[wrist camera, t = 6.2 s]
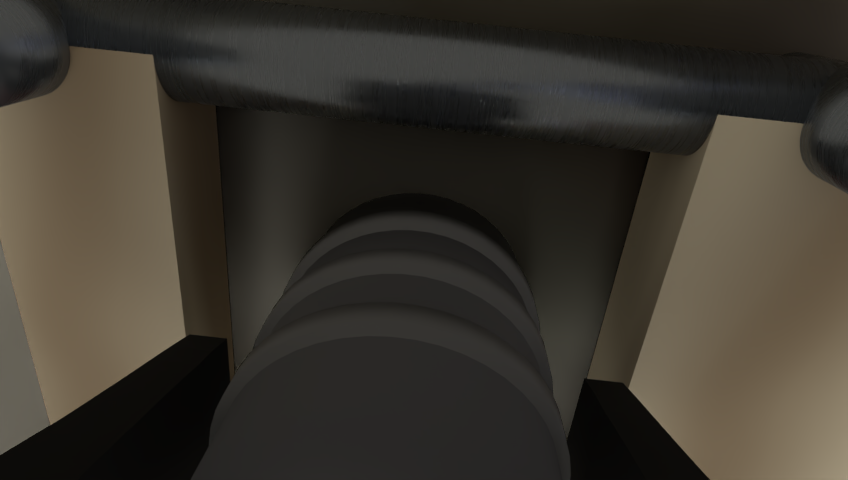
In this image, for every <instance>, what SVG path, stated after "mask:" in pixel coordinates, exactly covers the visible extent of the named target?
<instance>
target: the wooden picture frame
mask: <svg viewBox="0 0 848 480" xmlns="http://www.w3.org/2000/svg"><path fill="white" fill-rule="evenodd" d="M69 47H70V66H69V70H68V73H67V76H66V78H65V80H64V81H63V83H62V84H61V85H60V86H59V87H58V88H57V89H56V90H55V91H53V92H52V93H49V94H47V95H44V96H41V97H37V98H33V99H30V100H26V101H22V102H19V103H15V104H11V105H8V106H4V107H0V240H1V244H2V247H3V251H4V255H5V259H6V262H7V266H8V270H9V273H10V277H11V281H12V285H13V288H14V292H15V296H16V299H17V303H18V307H19V311H20V314H21V318H22V322H23V325H24V329H25V333H26V336H27V340H28V344H29V348H30V351H31V355H32V359H33V362H34V366H35V370H36V374H37V377H38V381H39V385H40V388H41V392H42V396H43V400H44V403H45V407H46V411H47V414H48V418H49V422H50V425H51V424H53V423H55V422H56V421H58V420H60V419H61V418H63V417H64V416H66V415H68V414H69V413H71V412H72V411H74V410H75V409H77V408H78V407H80V406H81V405H83V404H84V403H86V402H87V401H89V400H91V399H92V398H94V397H95V396H97V395H98V394H100V393H101V392H103V391H104V390H106V389H107V388H109V387H110V386H112V385H113V384H115V383H117V382H118V381H120V380H121V379H123V378H124V377H126V376H127V375H129V374H130V373H132V372H133V371H134V370H136V369H137V368H139V367H140V366H142V365H143V364H145V363H146V362H148V361H149V360H151V359H152V358H154V357H155V356H157V355H158V354H160V353H161V352H163V351H164V350H166V349H167V348H169V347H170V346H172V345H173V344H175V343H177V342H178V341H180V340H181V339H183V338H185V337H186V336H188V335H189V334H191V335H200V336H209V337H218V338H227V344H228V357H229V370H230V382H231V380H232V378H233V377H234V375H235V371H234V357H233V343H232V329H231V315H230V301H229V287H228V273H227V259H226V245H225V231H224V217H223V203H222V189H221V175H220V161H219V148H218V134H217V120H216V106H215V105H206V104H197V103H187V102H178V101H175V100H173V99H171V98H170V97H169V96H168V95H167V94H166V92H165V91H164V89H163V88H162V86H161V84H160V81H159V79H158V76H157V72H156V69H155V64H154V58H153V55H150V54H140V53H131V52H121V51H112V50H102V49H93V48H83V47H74V46H69ZM803 125H804V124H802V123H793V122H783V121H774V120H764V119H755V118H745V117H736V116H726V115H718V116H717V118H716V121H715V124H714V126H713V128H712V130H711V132H710V134H709V136H708V138H707V139H706V141H705V142H704V144H703V145H702V146H701V147H700V148H699V149H698V150H697V151H696V152H695V153H693V154H691V155H687V156H684V155H675V154H665V153H656V152H650V156H649V159H648V163H647V167H646V170H645V174H644V177H643V181H642V184H641V188H640V191H639V195H638V199H637V202H636V206H635V209H634V213H633V216H632V220H631V223H630V227H629V230H628V234H627V238H626V241H625V245H624V248H623V252H622V255H621V259H620V262H619V266H618V270H617V273H616V277H615V280H614V284H613V287H612V291H611V294H610V298H609V302H608V305H607V309H606V312H605V316H604V319H603V323H602V326H601V330H600V334H599V337H598V341H597V344H596V348H595V351H594V355H593V358H592V362H591V366H590V369H589V373H588V376H587V379H594V380H603V381H612V382H621V383H624V384H625V386H626V387H627V388H628V389H629V390H630V391H631V392H632V393H633V394H634V395H635V396H636V397H637V399H638V400H639V401H640V402H641V403H642V404H643V405H644V406H645V408H646V409H647V410H648V411H649V412H650V413H651V414H652V416H653V417H654V418H655V419H656V420H657V421H658V422H659V423H660V425H661V426H662V427H663V428H664V429H665V430H666V431H667V433H668V434H669V435H670V436H671V437H672V438H673V439H674V440H675V442H676V443H677V444H678V445H679V446H680V447H681V448H682V449H683V451H684V452H685V453H686V454H687V455H688V456H689V457H690V458H691V459H692V460H693V462H694V463H695V464H696V465H697V466H698V467H699V468H700V469H701V470H702V471H703V473H704V474H705V475H706V476H707V477H708V478H709V479H710V480H848V194H847V193H845V192H843V191H842V190H840V189H838V188H836V187H834V186H832V185H831V184H829V183H827V182H825V181H823V180H821V179H820V178H818V177H816V176H815V175H814V174H812V173H811V172H810V171H809V170H808V168H807V167H806V165H805V164H804V162H803V160H802V157H801V153H800V136H801V131H802V128H803Z"/></svg>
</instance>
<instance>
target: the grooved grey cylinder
mask: <svg viewBox="0 0 848 480" xmlns="http://www.w3.org/2000/svg"><path fill="white" fill-rule="evenodd" d="M570 477H571V468H570V455H569V450H568V446H567V442H566V437H565V433H564V428H563V424H562V420H561V416H560V412H559V408H558V406H557V404H556V401H555V399H554V397H553V384H552V376H551V372H550V367H549V363H548V359H547V354H546V350H545V346H544V342H543V340H542V337H541V335H540V325H539V319H538V315H537V311H536V306H535V302H534V298H533V294H532V291H531V289H530V286H529V284H528V281H527V279H526V277H525V276H524V274H523V272H522V271H521V269H520V267H519V266H518V263H517V260H516V258H515V255H514V253H513V251H512V249H511V247H510V246H509V244H508V242H507V241H506V239H505V238H504V237H503V236H502V234H501V233H500V232H499V231H498V230H497V229H496V228H495V227H494V226H493V225H492V224H491V223H490V222H489V221H488V220H487V219H485V218H484V217H483V216H481V215H480V214H478V213H477V212H476V211H474V210H472V209H470V208H468V207H466V206H465V205H463V204H460V203H458V202H455V201H452V200H450V199H446V198H442V197H439V196H435V195H427V194H405V193H404V194H396V195H389V196H385V197H381V198H377V199H374V200H371V201H369V202H366V203H364V204H361V205H359V206H358V207H356V208H354V209H352V210H351V211H349V212H348V213H346V214H345V215H344V216H342V217H341V218H340V219H338V220H337V221H336V222H335V224H334V225H333V226H332V227H331V228H330V229H329V230H328V231H327V233H326V234H325V235H324V237H323V238H321V239H320V240H319V241H318V242H317V243H316V244H315V245H314V246H313V247H312V248H311V249H310V250H309V251H308V252H307V253H306V255H305V256H304V257H303V259H302V260H301V261H300V263H299V264H298V266H297V268H296V269H295V271H294V273H293V275H292V276H291V278H290V280H289V282H288V284H287V286H286V288H285V290H284V293H283V295H282V297H281V298H280V299H279V301H278V302H277V303H276V305H275V306H274V308H273V309H272V311H271V313H270V314H269V316H268V318H267V320H266V321H265V323H264V325H263V327H262V329H261V331H260V333H259V334H258V336H257V338H256V341H255V344H254V347H253V350H252V351H251V352H250V353H249V355H248V356H247V357H246V359H245V360H244V361H243V363H242V364H241V365H240V367H239V368H238V370H237V371H236V373H235V375H234V377H233V378H232V380H231V382H230V384H229V385H228V387H227V389H226V390H225V392H224V394H223V396H222V398H221V400H220V402H219V404H218V406H217V408H216V410H215V413H214V417H213V420H212V423H211V427H210V437H209V447H208V449H207V450H206V452H205V454H204V456H203V458H202V460H201V461H200V463H199V465H198V467H197V469H196V471H195V472H194V474H193V476H192V478H191V480H570Z"/></svg>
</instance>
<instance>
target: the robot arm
mask: <svg viewBox="0 0 848 480" xmlns="http://www.w3.org/2000/svg"><path fill="white" fill-rule="evenodd" d="M229 384H230V370H229V357H228V344H227V338H218V337H209V336H200V335H191V334H189V335H188V336H186V337H185V338H183V339H181V340H180V341H178V342H177V343H175V344H173V345H172V346H170V347H169V348H167V349H166V350H164V351H163V352H161V353H160V354H158V355H157V356H155V357H154V358H152V359H151V360H149V361H148V362H146V363H145V364H143V365H142V366H140V367H139V368H137V369H136V370H134V371H133V372H132V373H130V374H129V375H127V376H126V377H124V378H123V379H121V380H120V381H118V382H117V383H115V384H113V385H112V386H110V387H109V388H107V389H106V390H104V391H103V392H101V393H100V394H98V395H97V396H95V397H94V398H92V399H91V400H89V401H87V402H86V403H84V404H83V405H81V406H80V407H78V408H77V409H75V410H74V411H72V412H71V413H69V414H68V415H66V416H64V417H63V418H61V419H60V420H58V421H56V422H55V423H53V424H51V425H50V426H48V427H46V428H45V429H43V430H41V431H40V432H38V433H36V434H35V435H33V436H32V437H30V438H28V439H27V440H25V441H23V442H22V443H20V444H18V445H17V446H15V447H13V448H12V449H10V450H8V451H7V452H5V453H3V454H2V455H0V480H191V478H192V476H193V474H194V472H195V471H196V469H197V467H198V465H199V463H200V461H201V460H202V458H203V456H204V454H205V452H206V450H207V449H208V447H209V437H210V427H211V423H212V420H213V417H214V413H215V410H216V408H217V406H218V404H219V402H220V400H221V398H222V396H223V394H224V392H225V390H226V389H227V387H228V385H229ZM567 446H568V450H569V455H570V468H571V477H570V480H710V479H709V478H708V477H707V476H706V475H705V474H704V473H703V471H702V470H701V469H700V468H699V467H698V466H697V465H696V464H695V463H694V462H693V460H692V459H691V458H690V457H689V456H688V455H687V454H686V453H685V452H684V451H683V449H682V448H681V447H680V446H679V445H678V444H677V443H676V442H675V440H674V439H673V438H672V437H671V436H670V435H669V434H668V433H667V431H666V430H665V429H664V428H663V427H662V426H661V425H660V423H659V422H658V421H657V420H656V419H655V418H654V417H653V416H652V414H651V413H650V412H649V411H648V410H647V409H646V408H645V406H644V405H643V404H642V403H641V402H640V401H639V400H638V399H637V397H636V396H635V395H634V394H633V393H632V392H631V391H630V390H629V389H628V388H627V387H626V386H625V384H624V383H621V382H612V381H603V380H594V379H585V378H584V382H583V385H582V389H581V393H580V396H579V400H578V403H577V407H576V411H575V414H574V418H573V421H572V425H571V428H570V432H569V436H568V439H567Z"/></svg>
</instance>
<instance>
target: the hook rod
mask: <svg viewBox="0 0 848 480" xmlns="http://www.w3.org/2000/svg"><path fill="white" fill-rule="evenodd" d="M69 46H74V47H83V48H93V49H102V50H112V51H121V52H131V53H140V54H150V55H153V58H154V64H155V69H156V72H157V76H158V79H159V81H160V84H161V86H162V88H163V89H164V91H165V92H166V94H167V95H168V96H169V97H170V98H171V99H173V100H175V101H178V102H187V103H197V104H206V105H215V106H225V107H234V108H244V109H253V110H262V111H272V112H281V113H290V114H300V115H309V116H319V117H328V118H337V119H347V120H356V121H365V122H375V123H384V124H394V125H403V126H412V127H422V128H431V129H440V130H450V131H459V132H469V133H478V134H487V135H497V136H506V137H515V138H525V139H534V140H543V141H553V142H562V143H572V144H581V145H590V146H600V147H609V148H618V149H628V150H637V151H647V152H656V153H665V154H675V155H684V156H687V155H691V154H693V153H695V152H696V151H697V150H698V149H699V148H700V147H701V146H702V145H703V144H704V142H705V141H706V139H707V138H708V136H709V134H710V132H711V130H712V128H713V126H714V124H715V121H716V118H717V116H718V115H726V116H736V117H745V118H755V119H764V120H774V121H783V122H793V123H802V124H804V125H803V128H802V131H801V136H800V153H801V157H802V160H803V162H804V164H805V165H806V167H807V168H808V170H809V171H810V172H811V173H812V174H814V175H815V176H816V177H818V178H820V179H821V180H823V181H825V182H827V183H829V184H831V185H832V186H834V187H836V188H838V189H840V190H842V191H843V192H845V193H847V194H848V62H844V61H840V60H835V59H830V58H825V57H820V56H815V55H811V54H805V53H788V54H784V55H771V54H762V53H752V52H743V51H733V50H723V49H714V48H704V47H695V46H685V45H675V44H666V43H656V42H647V41H637V40H628V39H618V38H608V37H599V36H589V35H580V34H570V33H560V32H551V31H541V30H532V29H522V28H513V27H503V26H493V25H484V24H474V23H465V22H455V21H446V20H436V19H426V18H417V17H407V16H398V15H388V14H378V13H369V12H359V11H350V10H340V9H331V8H321V7H311V6H302V5H292V4H283V3H273V2H263V1H254V0H0V107H4V106H8V105H11V104H15V103H19V102H22V101H26V100H30V99H33V98H37V97H41V96H44V95H47V94H49V93H52V92H53V91H55V90H56V89H57V88H58V87H59V86H60V85H61V84H62V83H63V81H64V80H65V78H66V76H67V73H68V70H69V66H70V47H69Z"/></svg>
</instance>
